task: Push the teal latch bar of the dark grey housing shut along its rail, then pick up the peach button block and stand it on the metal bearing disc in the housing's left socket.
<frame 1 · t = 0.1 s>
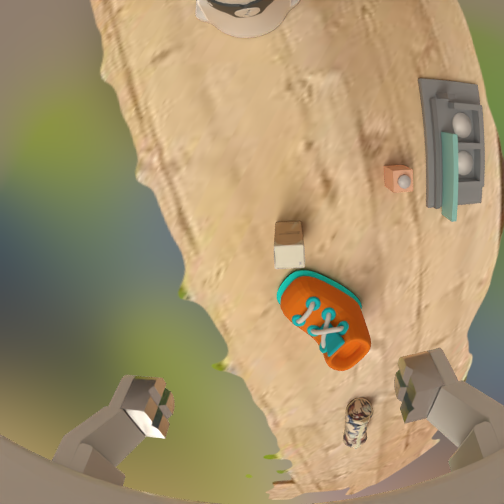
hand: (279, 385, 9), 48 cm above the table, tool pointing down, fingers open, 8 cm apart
box: (288, 231, 58), on the table
pencil case: (355, 414, 85), on the table
toy shoe: (319, 298, 65), on the table
latch: (450, 176, 46), point 4 cm above the table, slide at 6.0 cm
peach button block: (393, 175, 51), on the table
housing: (454, 143, 46), on the table
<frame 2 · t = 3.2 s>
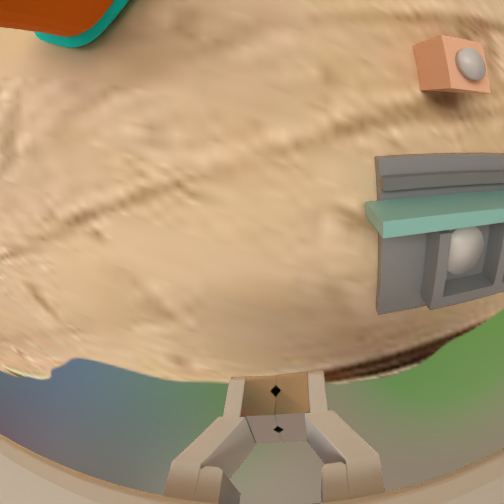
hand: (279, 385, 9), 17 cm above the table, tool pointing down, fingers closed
latch: (466, 208, 19), point 4 cm above the table, slide at 6.0 cm
peach button block: (436, 69, 17), on the table
housing: (487, 226, 23), on the table
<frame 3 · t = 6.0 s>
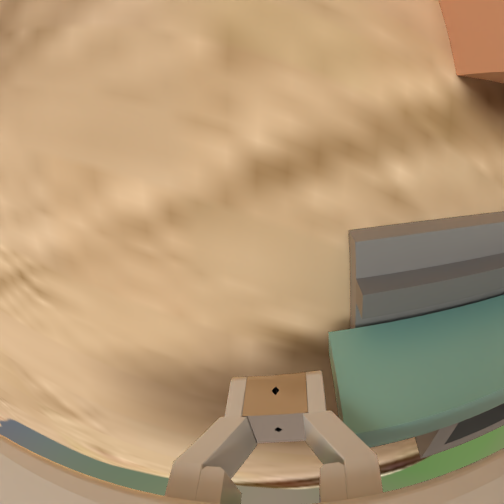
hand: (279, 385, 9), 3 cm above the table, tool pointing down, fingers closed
peach button block: (483, 35, 6), on the table
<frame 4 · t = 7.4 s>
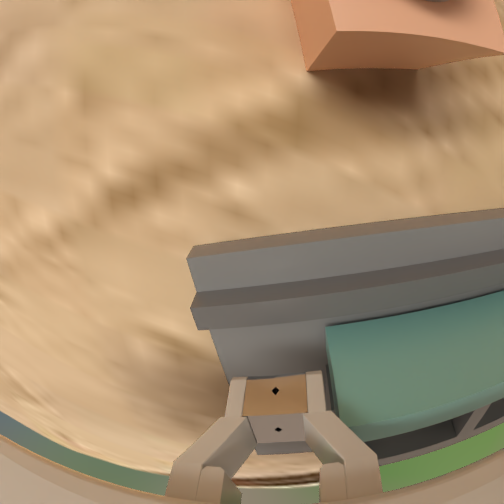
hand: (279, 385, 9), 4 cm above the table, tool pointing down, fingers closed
peach button block: (353, 16, 7), on the table
housing: (469, 340, 12), on the table
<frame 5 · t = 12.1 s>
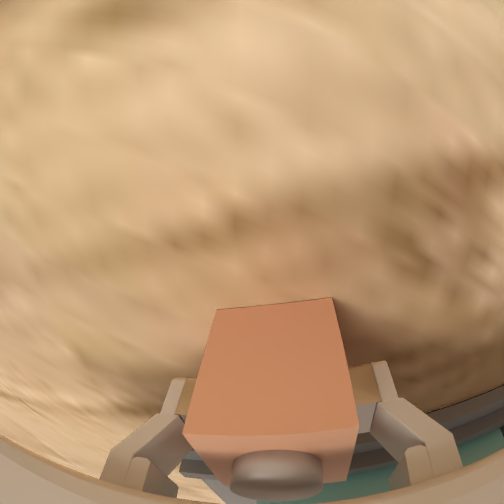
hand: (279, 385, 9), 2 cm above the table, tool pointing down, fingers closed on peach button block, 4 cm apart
latch: (396, 493, 12), point 4 cm above the table, slide at 0.0 cm
peach button block: (280, 346, 11), on the table, touching gripper
housing: (379, 466, 16), on the table
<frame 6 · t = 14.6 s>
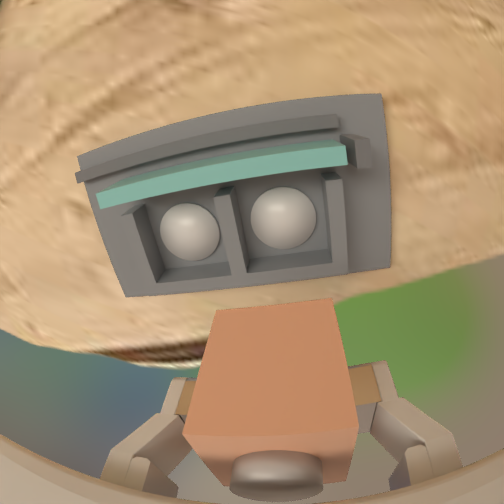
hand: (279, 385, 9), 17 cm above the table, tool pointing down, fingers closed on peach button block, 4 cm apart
latch: (215, 168, 20), point 4 cm above the table, slide at 0.0 cm
peach button block: (280, 346, 11), point 15 cm above the table, touching gripper
housing: (232, 202, 25), on the table
when the fingers open (5 cm above the table, at t = 17.3 s): peach button block drops 1 cm, resting on housing.
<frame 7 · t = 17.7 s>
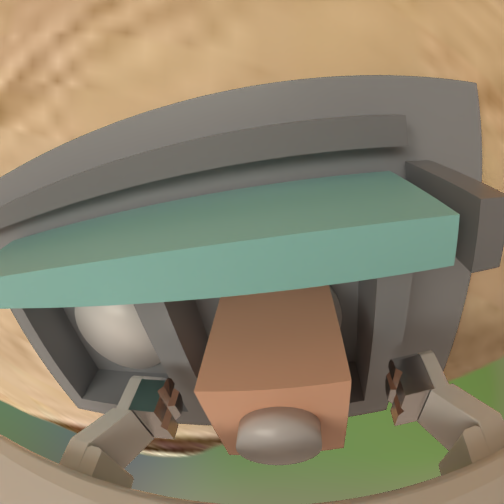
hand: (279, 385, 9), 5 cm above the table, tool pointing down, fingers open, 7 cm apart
latch: (125, 247, 8), point 4 cm above the table, slide at 0.0 cm
peach button block: (280, 323, 12), point 1 cm above the table, touching housing
housing: (186, 285, 13), on the table
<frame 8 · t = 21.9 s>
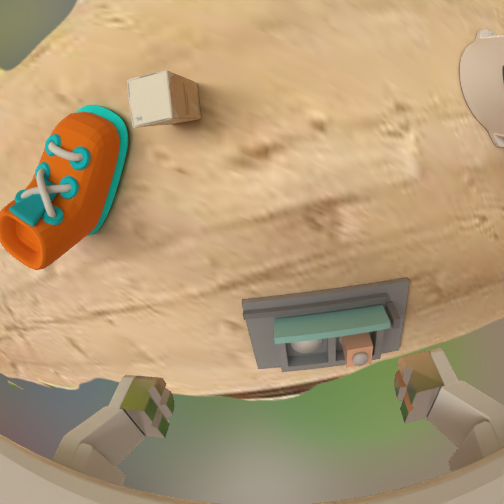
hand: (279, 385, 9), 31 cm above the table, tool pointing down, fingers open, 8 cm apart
box: (183, 102, 34), on the table
toy shoe: (90, 169, 38), on the table
latch: (331, 324, 42), point 4 cm above the table, slide at 0.0 cm
peach button block: (353, 335, 46), point 1 cm above the table, touching housing
housing: (329, 327, 47), on the table
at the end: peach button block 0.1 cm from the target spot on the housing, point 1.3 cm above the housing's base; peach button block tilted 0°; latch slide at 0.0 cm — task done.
